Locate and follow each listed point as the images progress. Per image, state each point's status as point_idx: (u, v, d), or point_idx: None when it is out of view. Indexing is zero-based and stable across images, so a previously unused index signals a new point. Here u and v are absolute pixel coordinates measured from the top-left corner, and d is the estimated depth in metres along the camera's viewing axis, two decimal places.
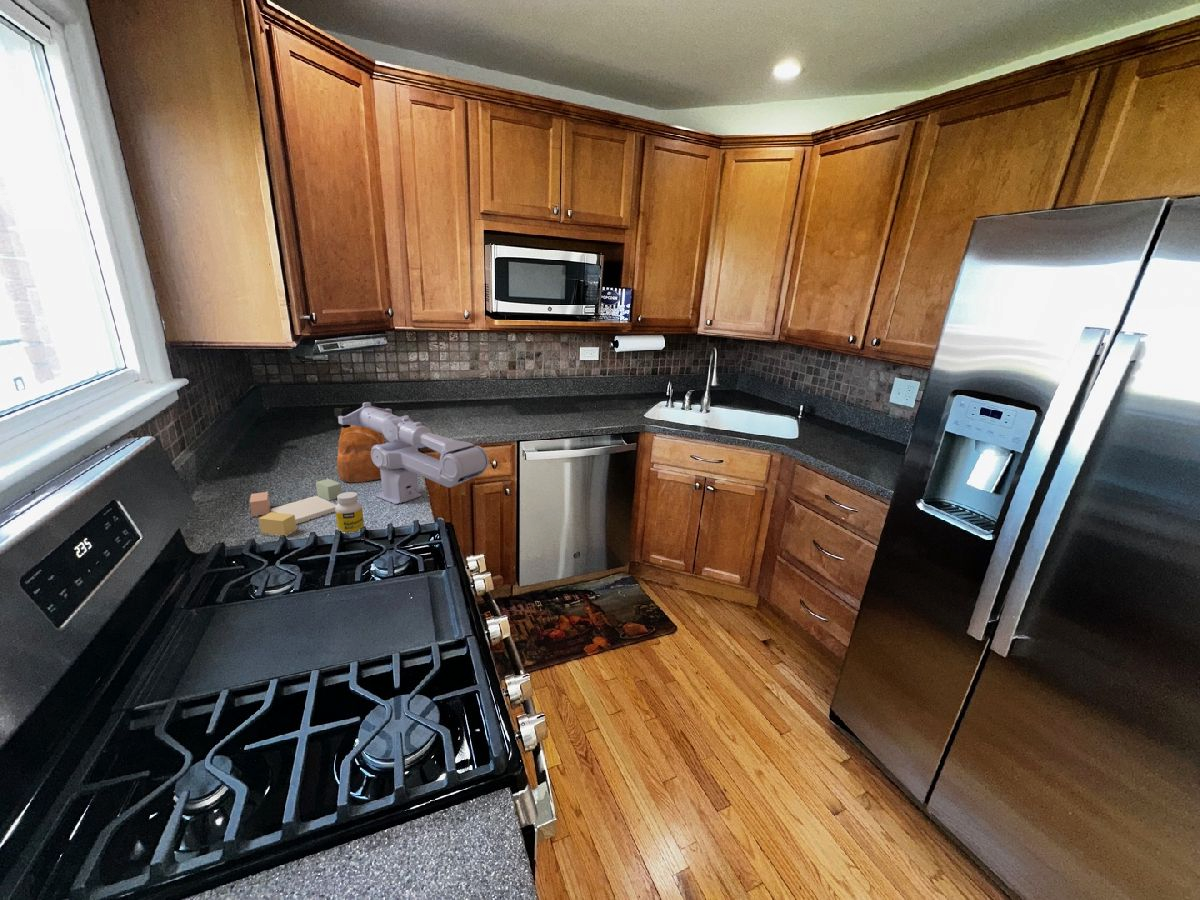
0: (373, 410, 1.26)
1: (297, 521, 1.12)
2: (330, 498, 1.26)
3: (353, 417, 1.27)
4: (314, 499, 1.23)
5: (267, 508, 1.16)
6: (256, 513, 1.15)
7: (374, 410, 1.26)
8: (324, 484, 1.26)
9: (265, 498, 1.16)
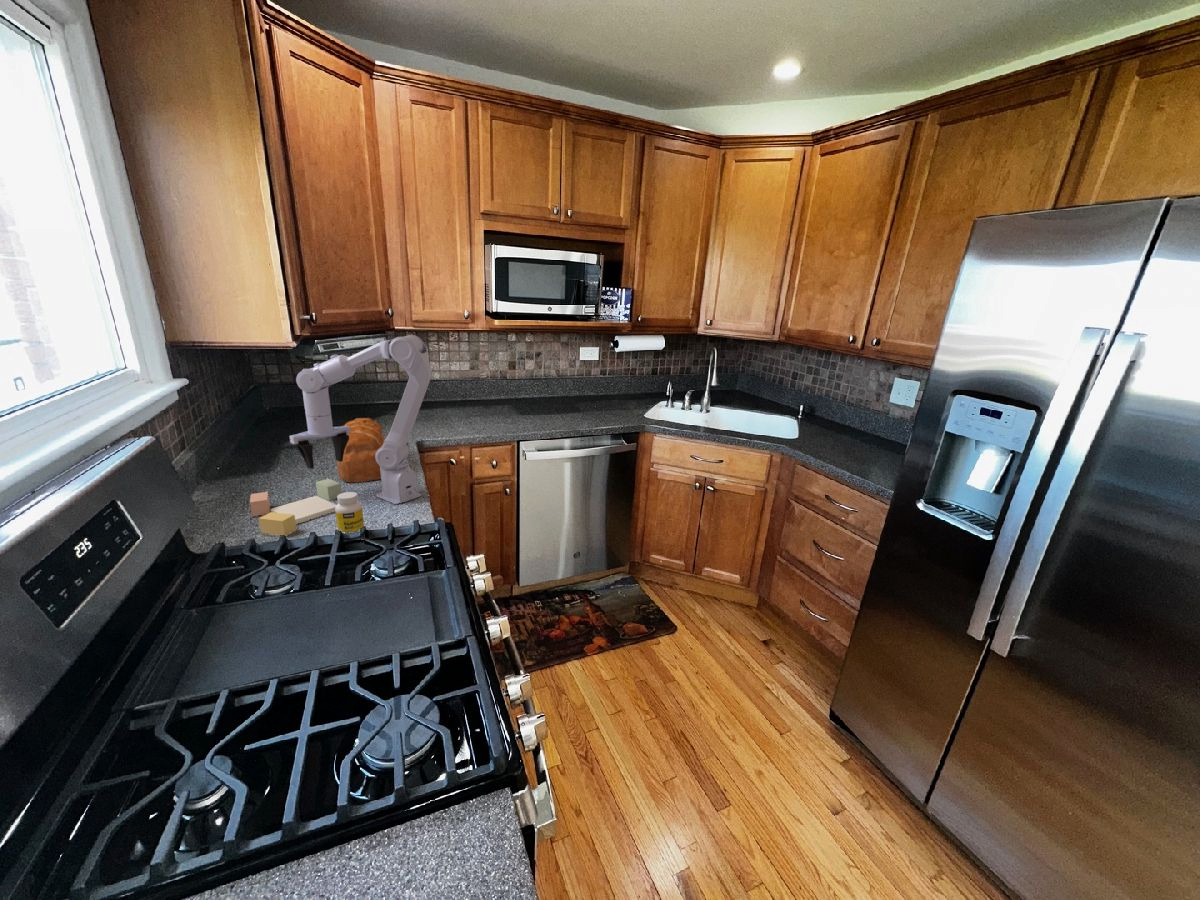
0: None
1: (297, 521, 1.12)
2: (330, 498, 1.26)
3: None
4: (314, 499, 1.23)
5: (267, 508, 1.16)
6: (256, 513, 1.15)
7: None
8: (324, 484, 1.26)
9: (265, 498, 1.16)
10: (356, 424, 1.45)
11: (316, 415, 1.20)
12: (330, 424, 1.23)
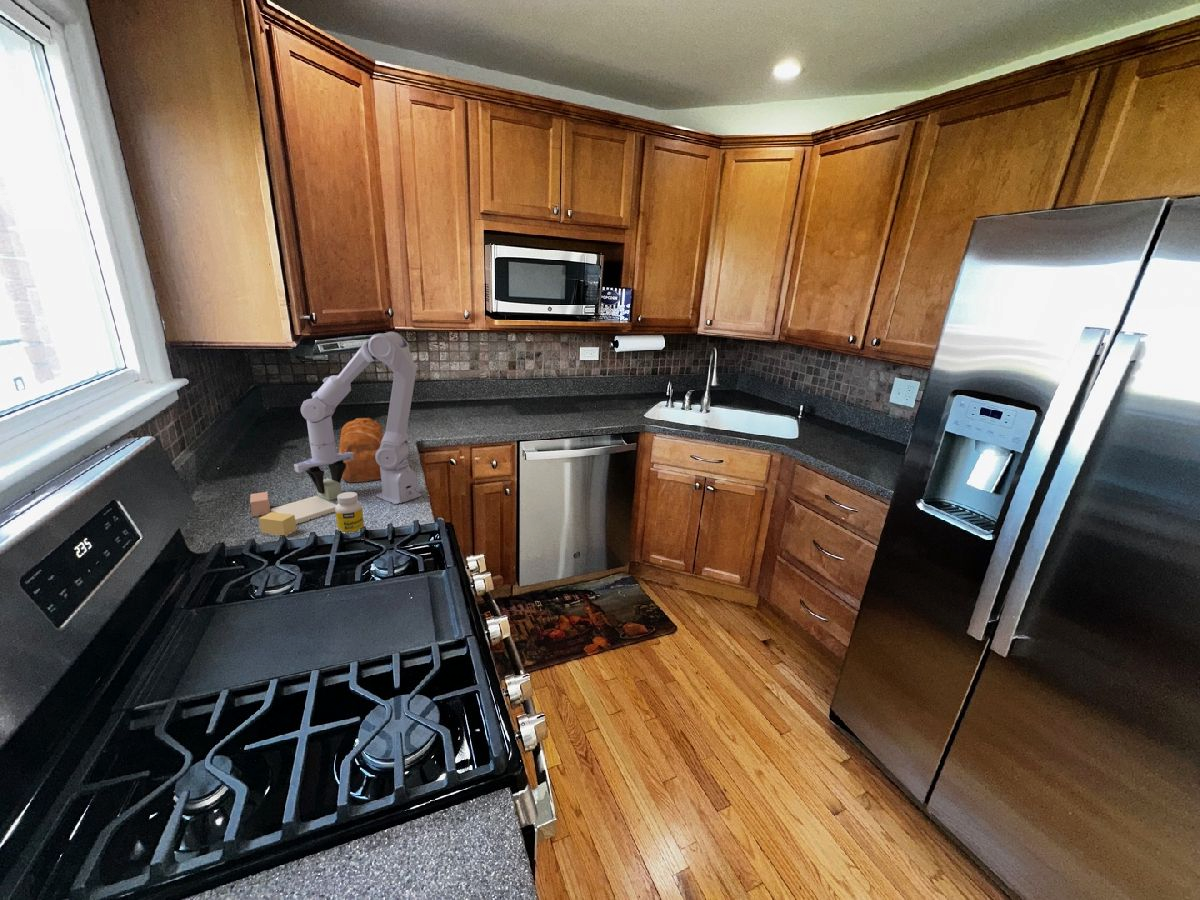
0: None
1: (297, 521, 1.12)
2: (330, 497, 1.26)
3: None
4: (314, 499, 1.23)
5: (268, 508, 1.16)
6: (256, 513, 1.15)
7: None
8: (324, 484, 1.26)
9: (265, 498, 1.16)
10: (356, 424, 1.45)
11: (320, 444, 1.22)
12: (334, 452, 1.25)
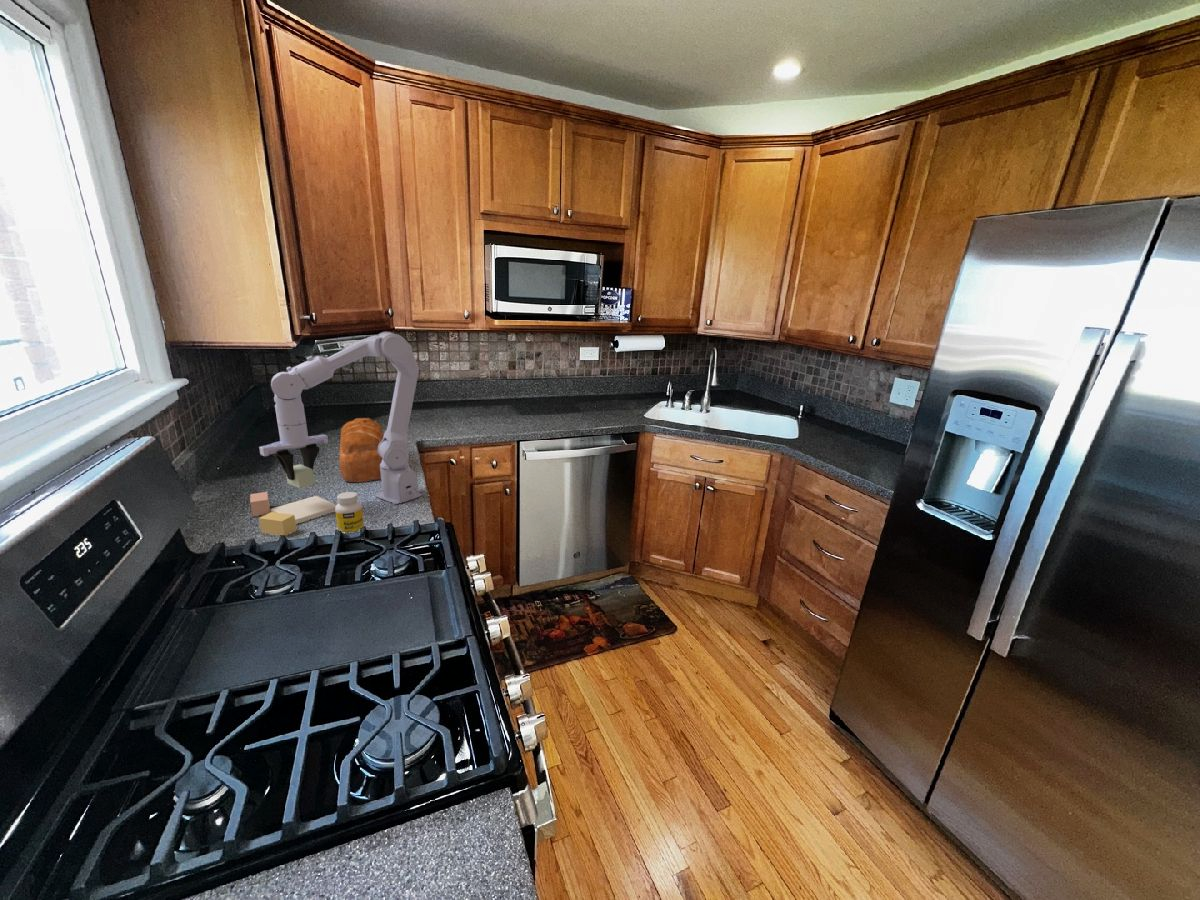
0: None
1: (297, 521, 1.12)
2: (300, 485, 1.14)
3: None
4: (314, 499, 1.23)
5: (268, 508, 1.16)
6: (256, 513, 1.15)
7: None
8: (294, 470, 1.14)
9: (266, 498, 1.17)
10: (357, 424, 1.45)
11: (296, 423, 1.10)
12: (305, 433, 1.13)
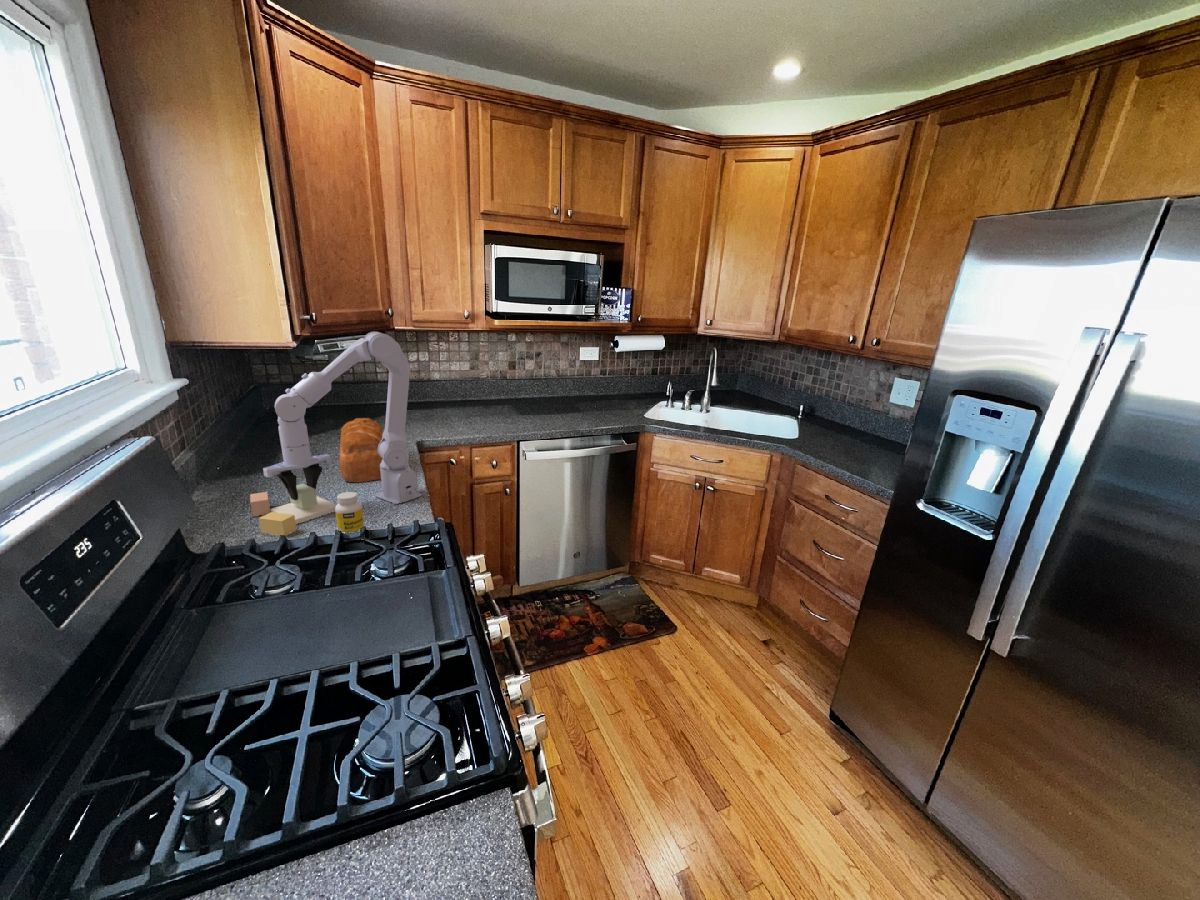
0: None
1: (297, 521, 1.12)
2: (303, 505, 1.15)
3: None
4: None
5: (268, 508, 1.16)
6: (257, 513, 1.15)
7: None
8: (297, 490, 1.16)
9: (266, 498, 1.17)
10: (357, 424, 1.45)
11: (299, 445, 1.12)
12: (308, 454, 1.14)
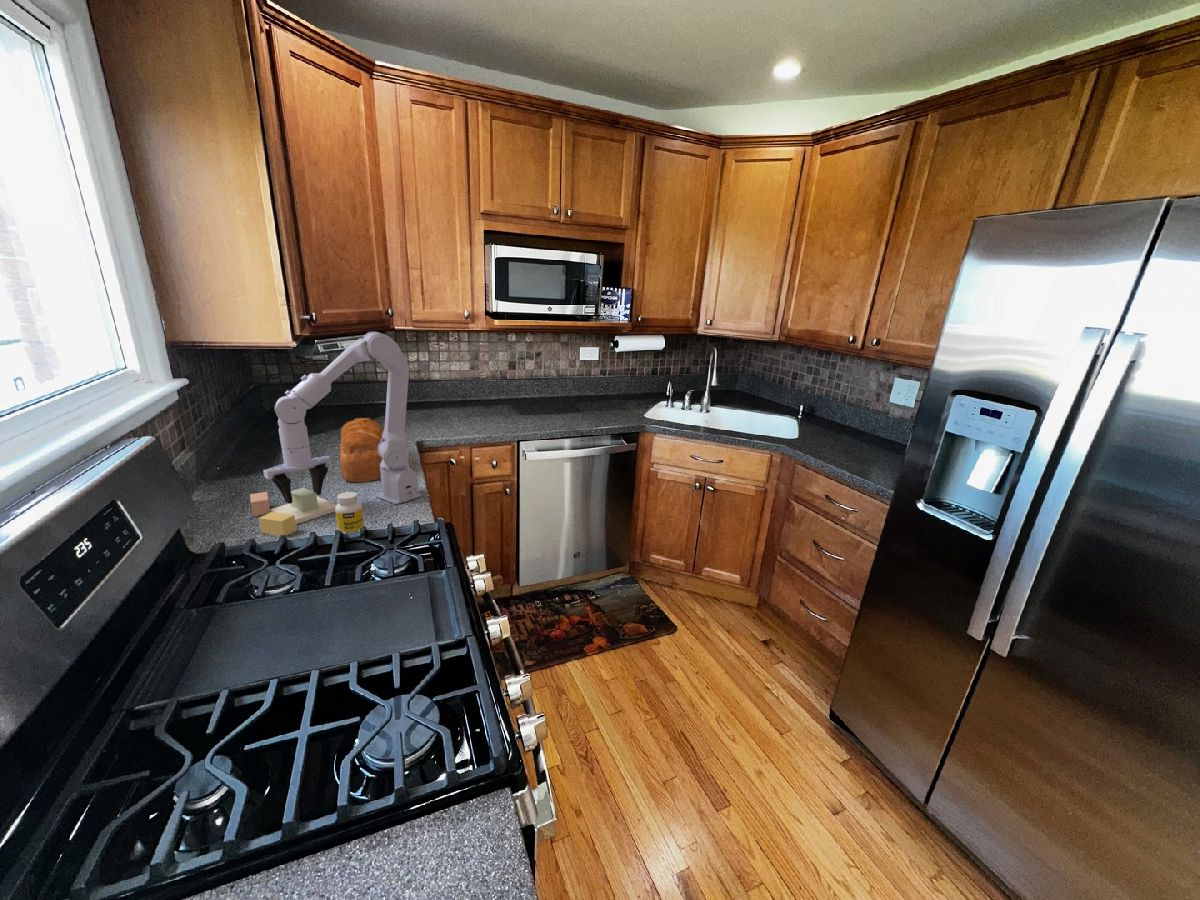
0: None
1: (297, 521, 1.12)
2: (304, 509, 1.16)
3: None
4: None
5: (268, 508, 1.16)
6: (257, 513, 1.15)
7: None
8: (298, 494, 1.16)
9: (266, 498, 1.17)
10: (357, 424, 1.45)
11: (299, 446, 1.12)
12: (308, 456, 1.14)
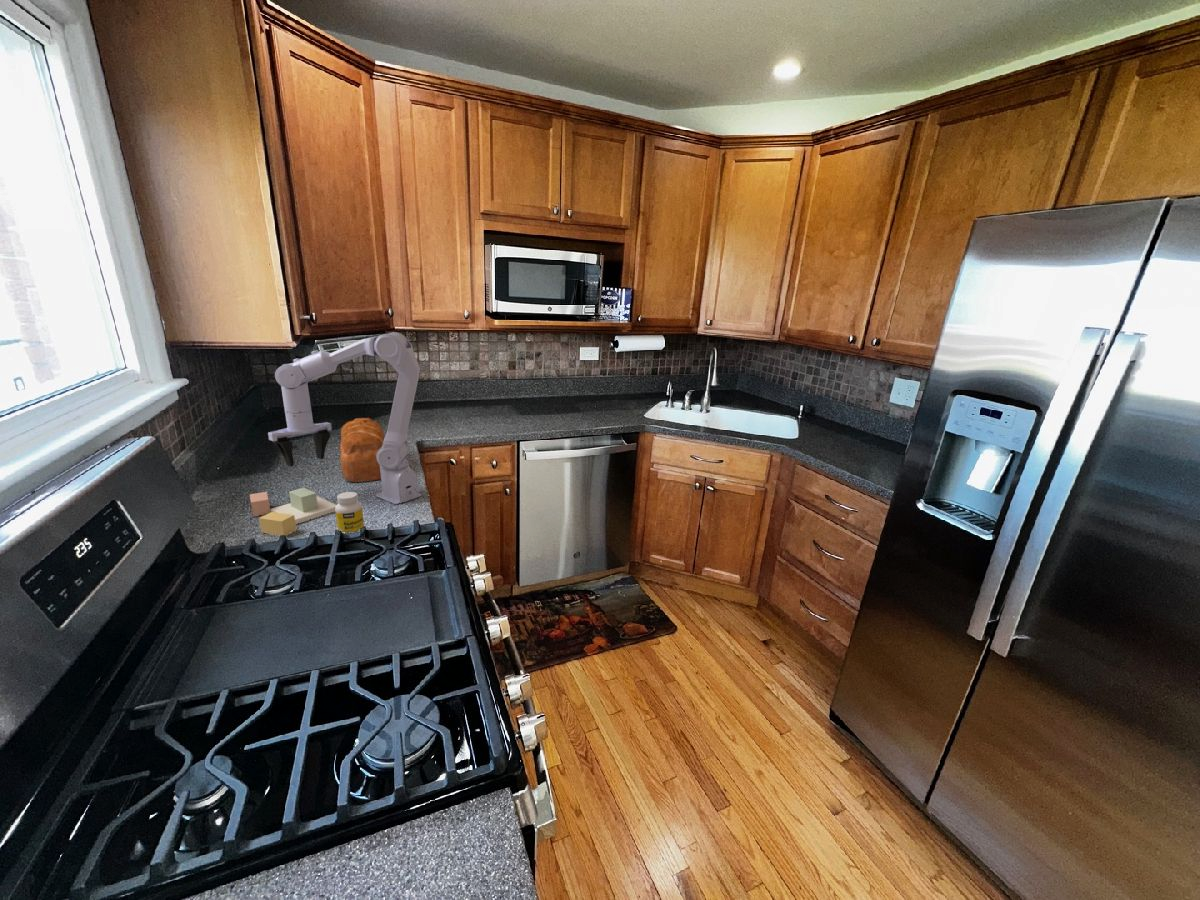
0: None
1: (297, 521, 1.12)
2: (304, 509, 1.16)
3: None
4: None
5: (268, 508, 1.16)
6: (257, 513, 1.15)
7: None
8: (298, 494, 1.16)
9: (266, 498, 1.17)
10: (358, 424, 1.45)
11: (296, 411, 1.17)
12: (310, 421, 1.21)
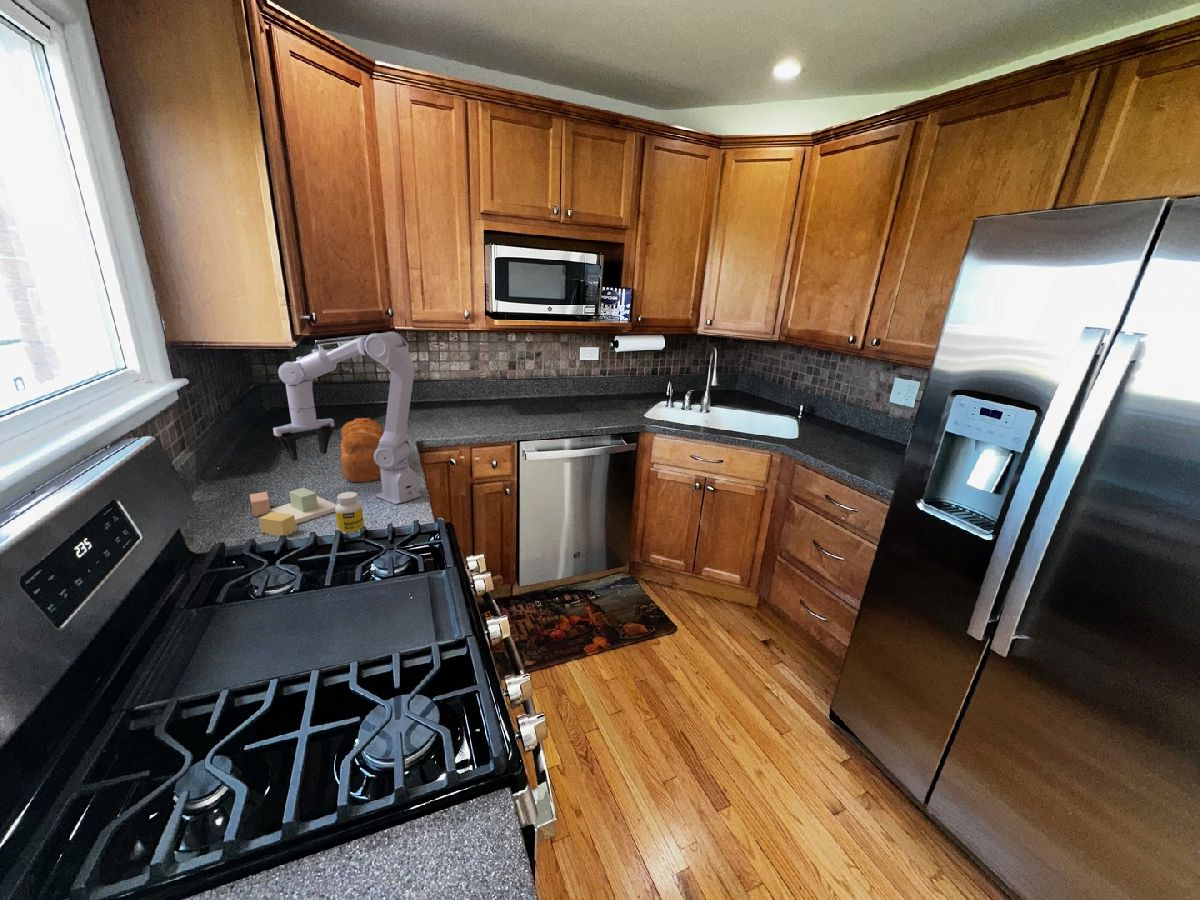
0: None
1: (297, 521, 1.12)
2: (304, 509, 1.16)
3: None
4: None
5: (269, 507, 1.17)
6: (257, 513, 1.15)
7: None
8: (298, 494, 1.16)
9: (266, 498, 1.17)
10: (358, 424, 1.46)
11: (298, 408, 1.22)
12: (313, 417, 1.25)
